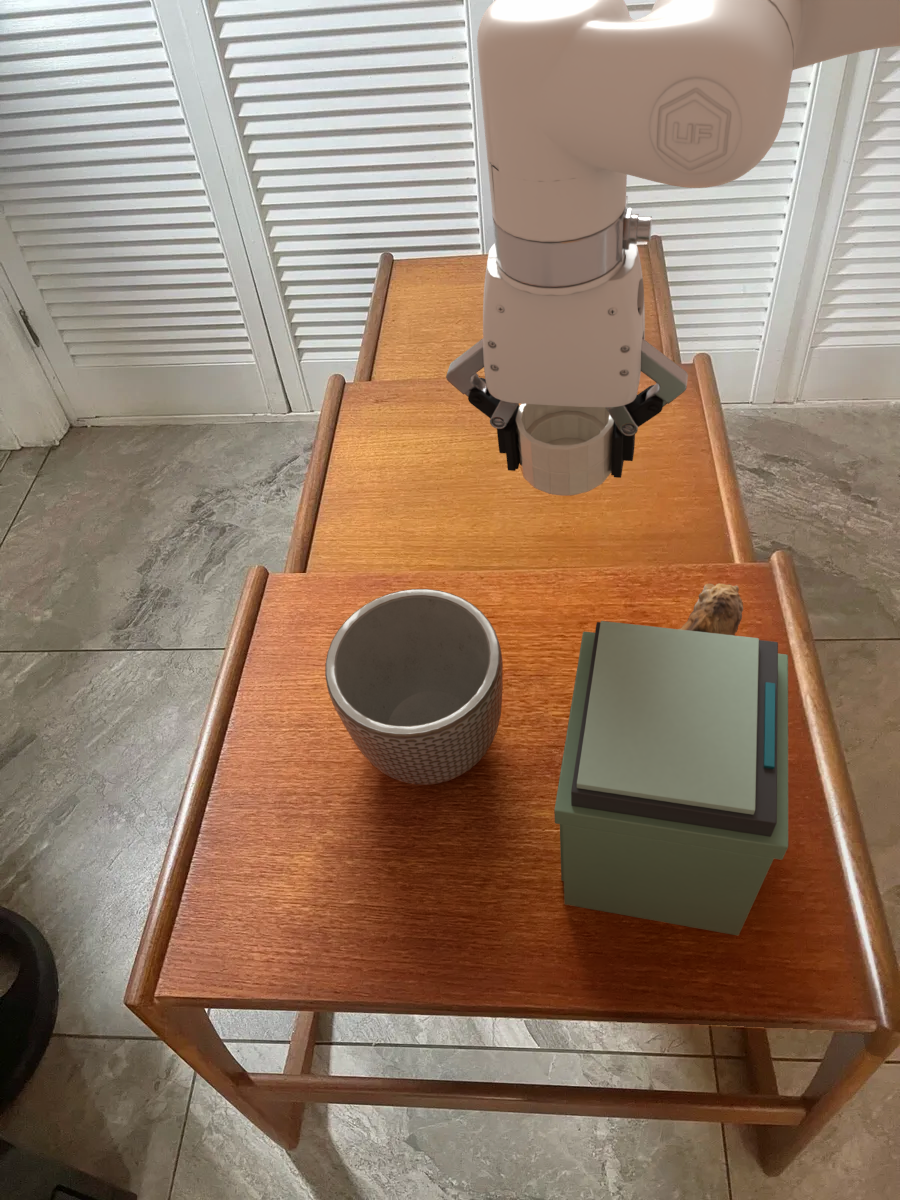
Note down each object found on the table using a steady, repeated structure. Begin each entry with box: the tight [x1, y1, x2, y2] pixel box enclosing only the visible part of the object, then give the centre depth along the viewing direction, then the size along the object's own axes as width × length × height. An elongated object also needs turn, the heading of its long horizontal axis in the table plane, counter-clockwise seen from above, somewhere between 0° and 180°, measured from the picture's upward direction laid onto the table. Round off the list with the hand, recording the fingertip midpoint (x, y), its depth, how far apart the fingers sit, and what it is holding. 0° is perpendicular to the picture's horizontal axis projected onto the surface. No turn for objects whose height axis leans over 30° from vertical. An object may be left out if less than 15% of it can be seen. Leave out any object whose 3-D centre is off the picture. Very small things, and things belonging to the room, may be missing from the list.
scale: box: [571, 620, 779, 837], centre depth 58 cm, size 12×13×3 cm
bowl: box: [516, 403, 615, 497], centre depth 65 cm, size 7×7×5 cm
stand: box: [553, 631, 789, 936], centre depth 66 cm, size 14×14×17 cm
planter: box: [324, 588, 504, 786], centre depth 75 cm, size 14×14×13 cm
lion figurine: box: [679, 583, 744, 636], centre depth 78 cm, size 15×5×9 cm, turn 121°
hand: (566, 459), depth 66 cm, fingers closed on bowl, 6 cm apart
